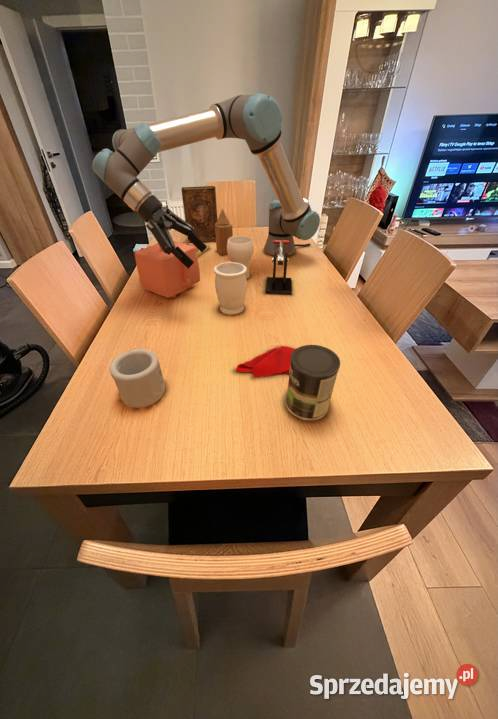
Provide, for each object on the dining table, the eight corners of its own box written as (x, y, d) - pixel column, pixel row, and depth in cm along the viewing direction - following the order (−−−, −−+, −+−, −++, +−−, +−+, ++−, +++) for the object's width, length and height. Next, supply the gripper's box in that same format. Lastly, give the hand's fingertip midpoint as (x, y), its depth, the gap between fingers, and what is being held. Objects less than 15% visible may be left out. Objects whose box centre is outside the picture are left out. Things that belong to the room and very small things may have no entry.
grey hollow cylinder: (167, 403, 72) (159, 372, 66) (120, 413, 70) (107, 382, 63) (163, 367, 82) (155, 338, 76) (122, 375, 80) (110, 345, 73)
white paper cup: (250, 304, 108) (251, 264, 98) (241, 319, 101) (240, 277, 91) (223, 299, 111) (221, 260, 101) (212, 313, 103) (208, 272, 94)
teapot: (181, 267, 133) (174, 225, 121) (220, 280, 123) (217, 236, 111) (135, 289, 117) (123, 243, 106) (176, 305, 107) (167, 257, 96)
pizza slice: (210, 247, 152) (209, 241, 150) (205, 263, 136) (204, 257, 134) (179, 247, 152) (178, 241, 150) (171, 263, 136) (170, 257, 134)
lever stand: (266, 280, 123) (267, 248, 115) (291, 280, 123) (294, 249, 114) (265, 293, 114) (266, 261, 106) (291, 294, 113) (294, 262, 105)
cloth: (329, 350, 88) (330, 344, 86) (334, 383, 77) (335, 376, 76) (241, 344, 90) (240, 338, 88) (234, 376, 79) (234, 369, 78)
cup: (254, 271, 130) (254, 235, 120) (252, 282, 122) (252, 244, 112) (230, 270, 131) (228, 234, 121) (226, 281, 123) (224, 243, 113)
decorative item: (216, 251, 148) (213, 207, 135) (228, 249, 150) (226, 205, 137) (221, 255, 143) (218, 210, 130) (233, 253, 146) (232, 208, 133)
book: (218, 237, 163) (214, 185, 147) (219, 241, 159) (216, 188, 143) (187, 240, 161) (180, 187, 144) (188, 243, 156) (181, 189, 140)
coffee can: (290, 422, 68) (296, 377, 58) (282, 389, 75) (286, 345, 66) (334, 419, 68) (347, 374, 59) (322, 387, 76) (332, 343, 67)
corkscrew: (273, 242, 117) (273, 238, 114) (289, 243, 116) (289, 238, 114) (272, 264, 112) (272, 260, 110) (288, 265, 112) (288, 260, 109)
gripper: (155, 203, 100) (202, 251, 107) (116, 224, 81) (177, 281, 89) (167, 185, 96) (216, 236, 103) (129, 204, 77) (192, 265, 84)
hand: (198, 257), depth 96 cm, fingers open, 13 cm apart
